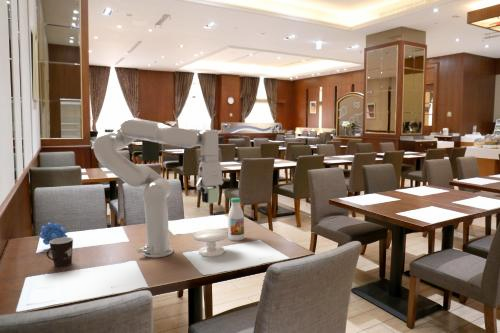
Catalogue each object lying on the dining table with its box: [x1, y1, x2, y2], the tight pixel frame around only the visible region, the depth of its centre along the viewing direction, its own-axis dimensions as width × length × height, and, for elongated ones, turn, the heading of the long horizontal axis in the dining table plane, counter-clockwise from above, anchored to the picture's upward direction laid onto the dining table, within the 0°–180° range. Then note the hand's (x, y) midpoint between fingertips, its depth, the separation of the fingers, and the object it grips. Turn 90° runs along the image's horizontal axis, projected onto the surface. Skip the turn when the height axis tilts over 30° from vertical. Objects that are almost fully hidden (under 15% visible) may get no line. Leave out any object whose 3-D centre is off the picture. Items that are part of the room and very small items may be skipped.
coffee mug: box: [46, 236, 74, 268], centre depth 156 cm, size 12×9×10 cm
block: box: [203, 186, 219, 205], centre depth 165 cm, size 5×5×6 cm
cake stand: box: [193, 228, 229, 258], centre depth 168 cm, size 15×15×8 cm
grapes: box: [38, 222, 69, 246], centre depth 178 cm, size 12×7×12 cm, turn 120°
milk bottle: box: [227, 197, 245, 242], centre depth 186 cm, size 8×8×20 cm
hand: (210, 200), depth 166 cm, fingers closed on block, 5 cm apart
